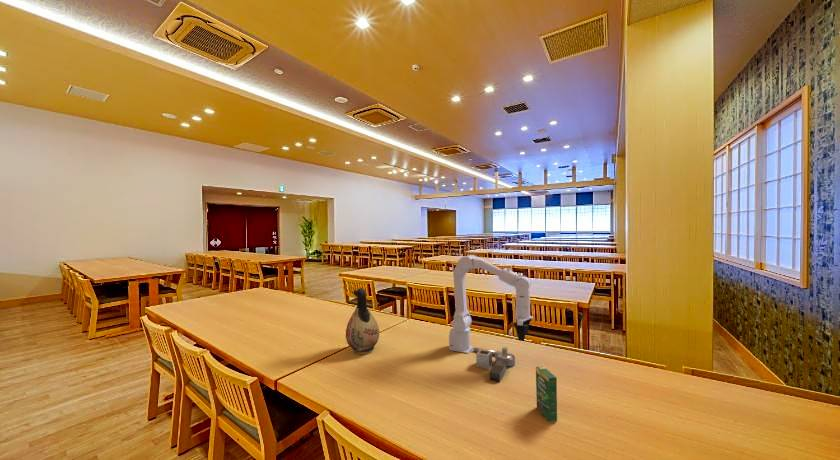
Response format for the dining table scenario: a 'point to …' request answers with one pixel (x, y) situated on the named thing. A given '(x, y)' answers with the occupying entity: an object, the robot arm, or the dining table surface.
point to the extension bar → (486, 349)
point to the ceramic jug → (362, 327)
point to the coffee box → (546, 393)
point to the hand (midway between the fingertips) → (522, 337)
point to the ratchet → (501, 364)
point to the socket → (484, 359)
